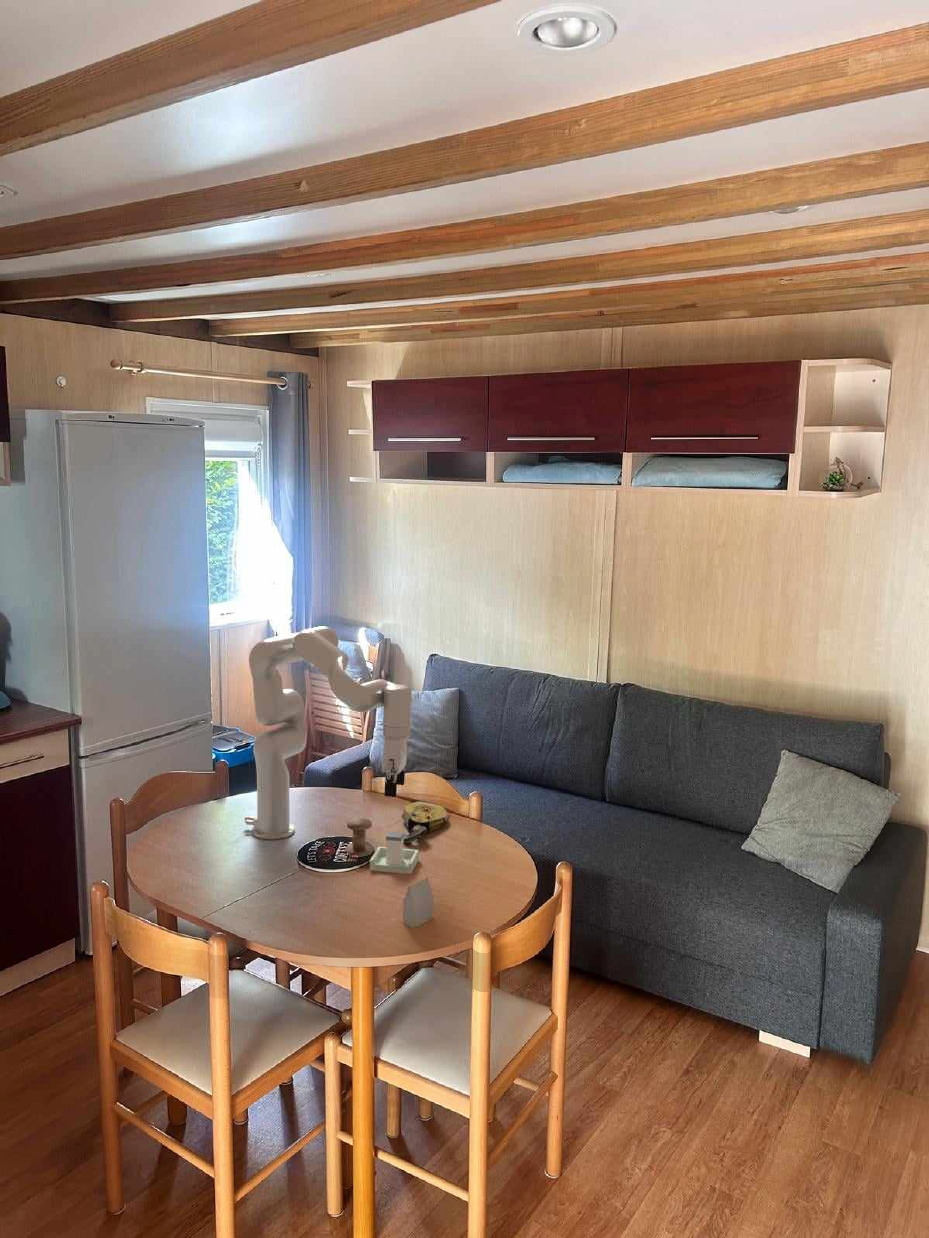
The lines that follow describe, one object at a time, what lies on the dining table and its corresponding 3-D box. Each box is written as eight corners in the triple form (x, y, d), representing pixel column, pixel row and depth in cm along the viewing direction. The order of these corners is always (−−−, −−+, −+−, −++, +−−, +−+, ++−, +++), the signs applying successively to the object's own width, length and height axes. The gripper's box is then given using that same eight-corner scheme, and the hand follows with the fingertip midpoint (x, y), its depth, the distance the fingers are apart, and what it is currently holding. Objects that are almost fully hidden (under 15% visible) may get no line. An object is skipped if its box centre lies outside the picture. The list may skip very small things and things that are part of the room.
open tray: (369, 870, 259) (370, 859, 259) (378, 856, 269) (378, 846, 268) (411, 874, 258) (411, 863, 257) (418, 860, 267) (418, 850, 267)
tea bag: (432, 917, 233) (433, 879, 231) (413, 927, 228) (414, 888, 226) (421, 913, 235) (422, 875, 234) (402, 922, 230) (403, 883, 229)
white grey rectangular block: (385, 864, 261) (385, 836, 260) (389, 858, 265) (389, 830, 264) (400, 865, 261) (400, 837, 259) (403, 859, 265) (404, 831, 263)
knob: (341, 856, 268) (341, 826, 267) (349, 845, 276) (349, 816, 274) (368, 858, 267) (369, 828, 265) (375, 848, 275) (376, 818, 273)
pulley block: (388, 824, 276) (411, 791, 305) (385, 842, 277) (408, 808, 306) (434, 835, 274) (453, 801, 303) (431, 854, 275) (450, 818, 304)
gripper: (390, 720, 266) (388, 778, 269) (375, 737, 249) (373, 799, 252) (416, 723, 265) (414, 781, 268) (403, 740, 248) (400, 802, 251)
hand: (394, 790), depth 260 cm, fingers open, 9 cm apart
